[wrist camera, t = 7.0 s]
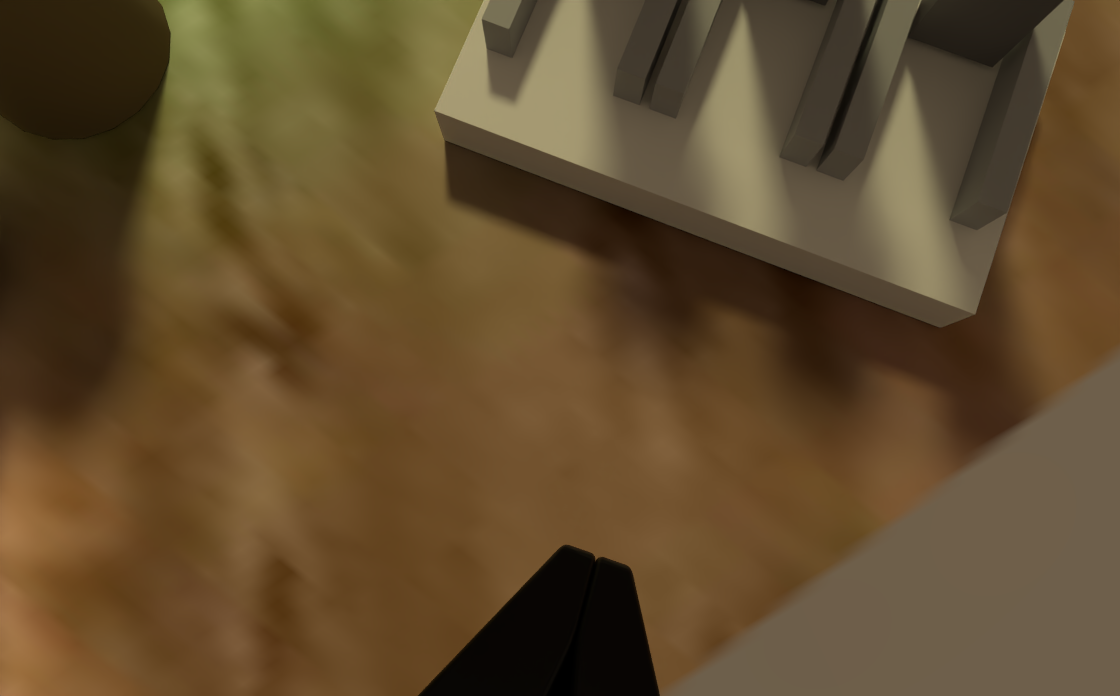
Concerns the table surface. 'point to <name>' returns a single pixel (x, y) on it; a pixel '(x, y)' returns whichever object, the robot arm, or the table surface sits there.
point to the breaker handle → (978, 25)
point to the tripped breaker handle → (820, 2)
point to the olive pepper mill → (79, 63)
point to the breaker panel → (768, 130)
